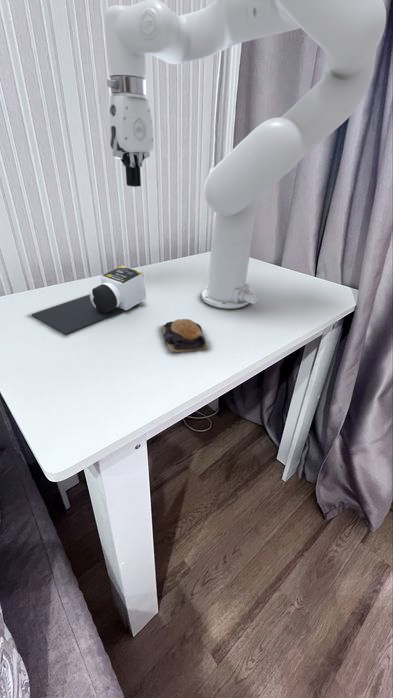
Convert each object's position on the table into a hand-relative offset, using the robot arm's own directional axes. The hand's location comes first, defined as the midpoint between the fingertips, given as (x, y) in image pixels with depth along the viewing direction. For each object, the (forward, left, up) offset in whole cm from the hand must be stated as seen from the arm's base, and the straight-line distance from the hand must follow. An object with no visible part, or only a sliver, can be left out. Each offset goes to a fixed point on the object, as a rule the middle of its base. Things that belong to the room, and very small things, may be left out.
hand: (133, 185), depth 80 cm
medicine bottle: (-7, +8, -20) cm, 23 cm away
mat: (-4, +20, -25) cm, 32 cm away
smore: (-29, +14, -25) cm, 41 cm away
